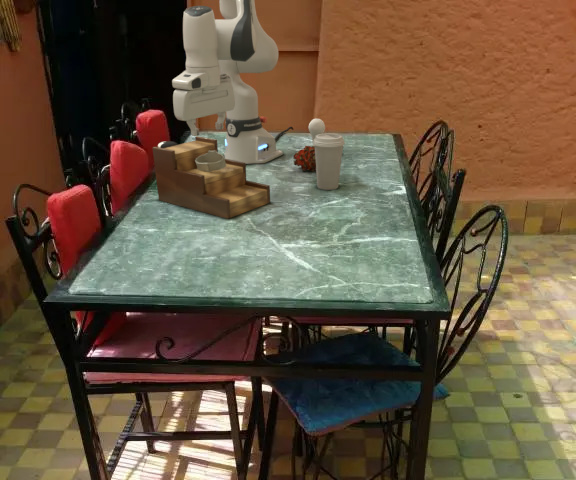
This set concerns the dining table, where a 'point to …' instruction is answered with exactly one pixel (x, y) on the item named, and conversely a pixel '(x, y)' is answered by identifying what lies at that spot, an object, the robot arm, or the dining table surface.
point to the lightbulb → (316, 128)
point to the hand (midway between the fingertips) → (207, 132)
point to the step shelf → (205, 181)
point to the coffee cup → (328, 159)
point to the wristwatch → (210, 161)
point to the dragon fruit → (306, 158)
